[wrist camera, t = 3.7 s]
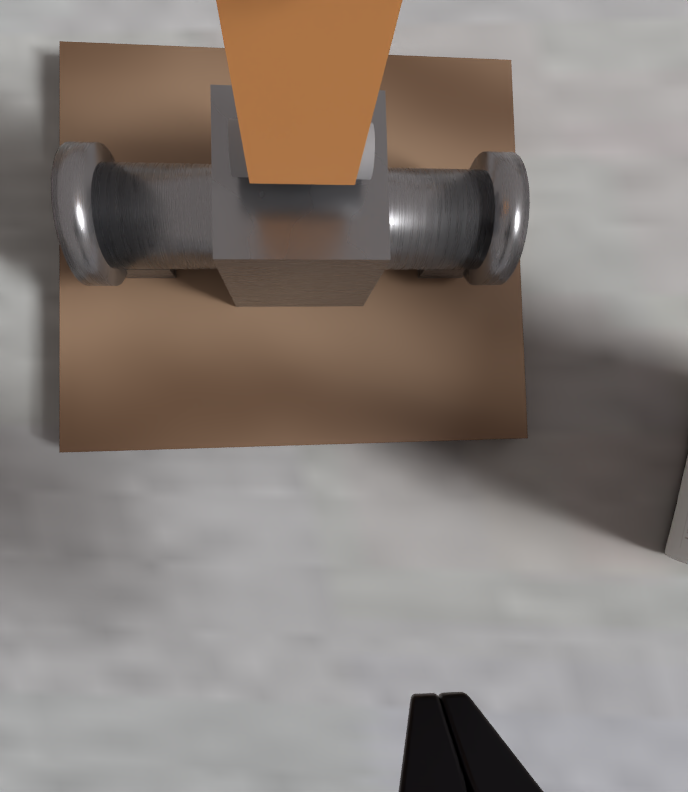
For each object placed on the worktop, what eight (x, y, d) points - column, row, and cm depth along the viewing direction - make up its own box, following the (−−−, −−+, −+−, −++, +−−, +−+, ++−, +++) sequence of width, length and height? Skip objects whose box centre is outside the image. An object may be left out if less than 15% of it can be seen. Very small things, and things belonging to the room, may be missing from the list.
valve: (478, 305, 19) (550, 260, 14) (109, 307, 18) (31, 258, 12) (474, 185, 19) (542, 96, 14) (108, 179, 18) (32, 78, 13)
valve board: (513, 437, 20) (527, 437, 19) (74, 450, 19) (59, 452, 17) (498, 80, 21) (511, 59, 20) (74, 65, 19) (59, 41, 18)
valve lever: (368, 216, 13) (514, -184, 4) (234, 215, 13) (113, -219, 4) (365, 112, 13) (502, -473, 4) (233, 108, 13) (112, -525, 4)
